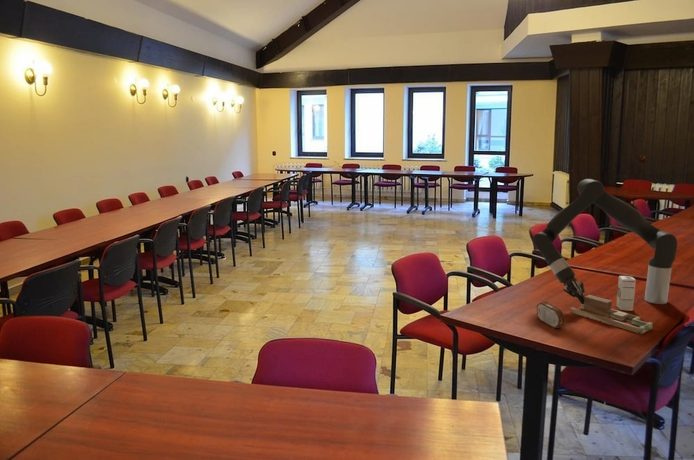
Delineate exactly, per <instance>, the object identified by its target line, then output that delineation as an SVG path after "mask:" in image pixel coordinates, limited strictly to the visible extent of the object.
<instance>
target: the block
mask: <svg viewBox="0 0 694 460" xmlns="http://www.w3.org/2000/svg"><path fill="white" fill-rule="evenodd" d="M584 297H585V299H584V309H582V311H586V312H589V313H592V314H596V315H599V316H602V317H606V318H609V319H611V309H612V306H613V301H612V300H611V299H607V298H603V297H599V296H595V295H593V294H588V295H584Z"/></svg>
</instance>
